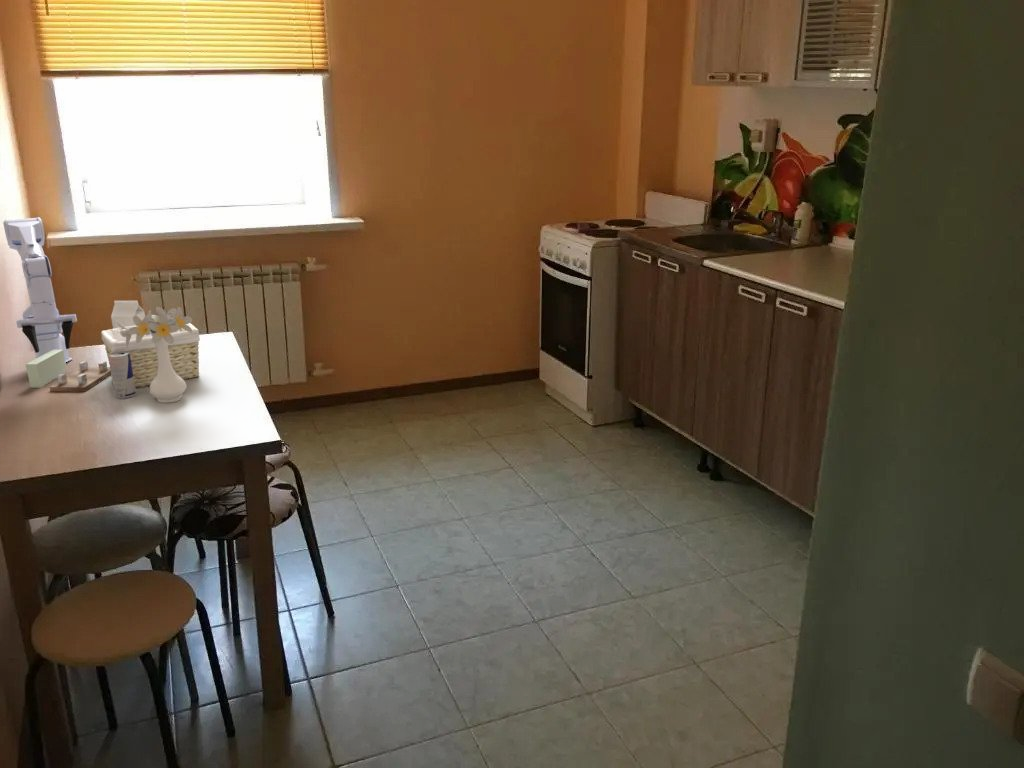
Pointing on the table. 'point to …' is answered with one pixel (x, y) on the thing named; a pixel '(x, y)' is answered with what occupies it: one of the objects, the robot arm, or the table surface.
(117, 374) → the energy drink
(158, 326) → the flower vase
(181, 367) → the storage basket
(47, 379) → the door panel
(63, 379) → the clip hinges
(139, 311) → the milk carton
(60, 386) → the mount plate
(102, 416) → the table surface
